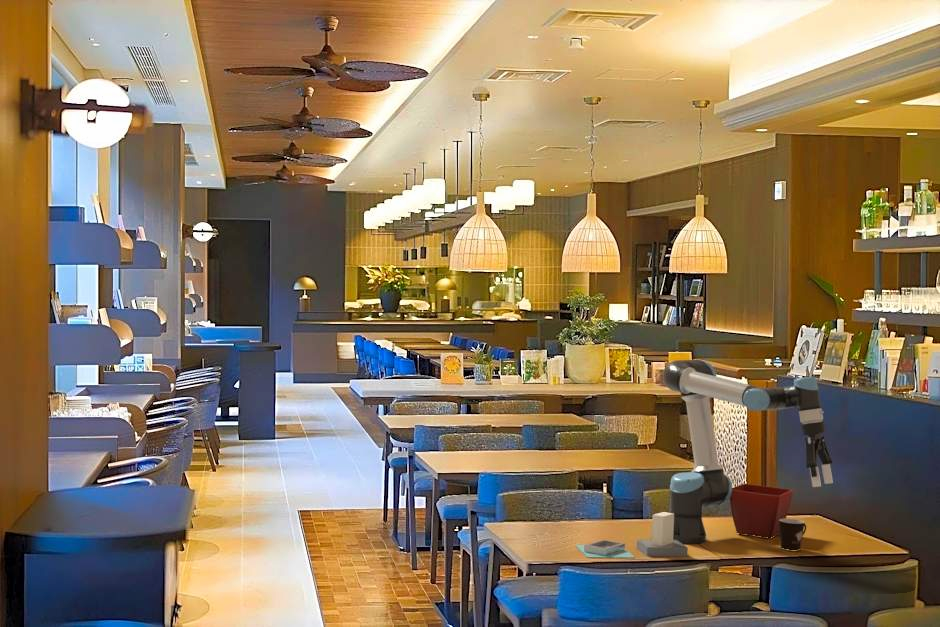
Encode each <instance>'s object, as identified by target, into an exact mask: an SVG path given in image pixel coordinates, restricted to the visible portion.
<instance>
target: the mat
mask: <svg viewBox="0 0 940 627" xmlns="http://www.w3.org/2000/svg"><path fill="white" fill-rule="evenodd" d="M584 545H585V544H575V545H574V546H575V547H576V548H577V549H578V550H579V551H580V552H581V553H582V554H583V555H584V556H585V557H586V558H587V559H636V557H635V556H634V555H633V554H632V553H631V552H630V551H628V550H627V549H625V550H624V551H621V552H617V553H614V554H611V555H608V556H603V555H598V554H593V553H588V552H584Z"/></svg>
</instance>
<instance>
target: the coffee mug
mask: <svg viewBox="0 0 940 627" xmlns="http://www.w3.org/2000/svg"><path fill="white" fill-rule="evenodd" d="M779 525H780V534H779V535H780V536H779V537H780V549H781V548H784V549H789V550H798V549H800V550H801V546H802V540H803V536H804V535H805V533H806V531H807V525H806V523H805V521H804V520H801V519H795V518H786V519H780V520H779Z"/></svg>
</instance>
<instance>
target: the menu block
mask: <svg viewBox="0 0 940 627" xmlns="http://www.w3.org/2000/svg"><path fill="white" fill-rule="evenodd" d="M651 517H652V520H651V539H650V540H651V544H652V545H658V546H664V545H667V544H670V543H673V529H674V513H669V512H666V511H662V512H658V513H654V514H652V515H651Z"/></svg>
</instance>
